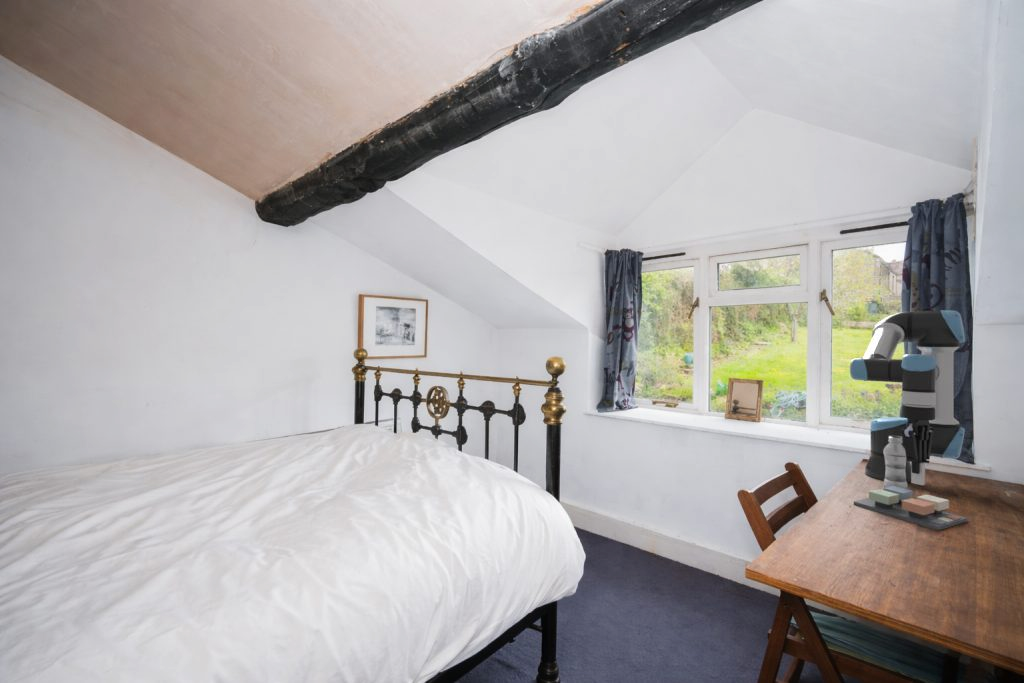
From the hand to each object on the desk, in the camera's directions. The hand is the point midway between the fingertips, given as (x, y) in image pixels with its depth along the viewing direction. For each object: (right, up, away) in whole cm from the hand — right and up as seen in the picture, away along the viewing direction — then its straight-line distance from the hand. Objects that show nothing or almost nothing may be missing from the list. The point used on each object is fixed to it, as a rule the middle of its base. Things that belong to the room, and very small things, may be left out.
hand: (918, 483), depth 136 cm
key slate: (+4, -8, +12) cm, 15 cm away
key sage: (-3, -8, +8) cm, 12 cm away
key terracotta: (0, -8, 0) cm, 8 cm away
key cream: (+7, -8, +3) cm, 12 cm away
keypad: (+2, -11, +6) cm, 13 cm away
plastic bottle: (+13, -11, +23) cm, 28 cm away
